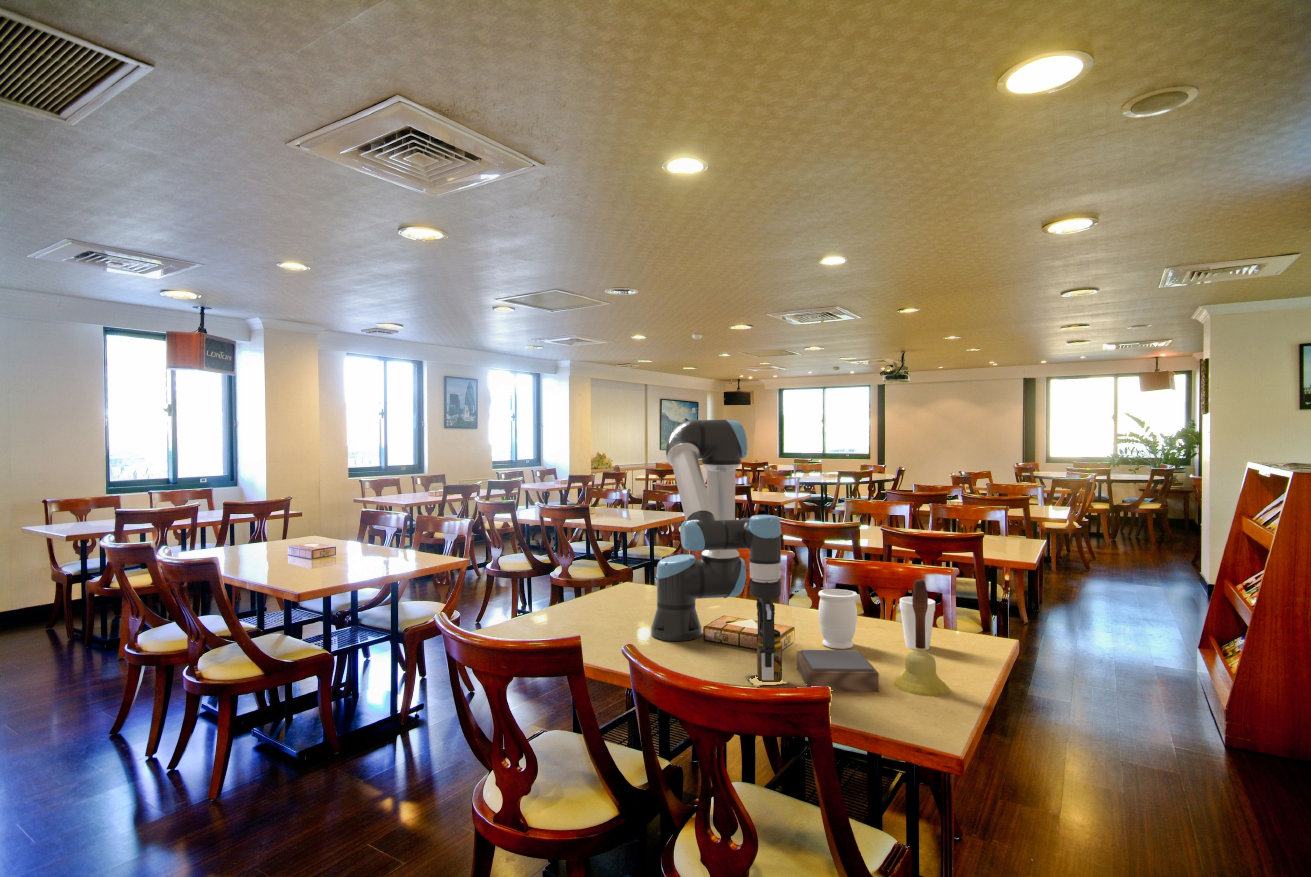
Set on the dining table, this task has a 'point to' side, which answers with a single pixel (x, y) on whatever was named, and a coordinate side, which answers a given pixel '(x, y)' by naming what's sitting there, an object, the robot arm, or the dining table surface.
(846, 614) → the jar
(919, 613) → the handbell
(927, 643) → the foam cup
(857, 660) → the stand
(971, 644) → the dining table surface
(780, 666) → the condiment
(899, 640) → the dining table surface
